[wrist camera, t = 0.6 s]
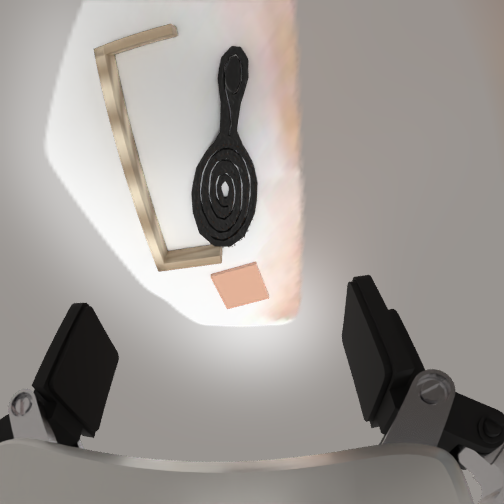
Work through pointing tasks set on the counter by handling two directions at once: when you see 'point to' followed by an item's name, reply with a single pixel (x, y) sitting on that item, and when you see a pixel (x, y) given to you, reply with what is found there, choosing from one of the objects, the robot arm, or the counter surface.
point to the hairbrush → (226, 165)
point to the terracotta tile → (240, 285)
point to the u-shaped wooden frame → (131, 159)
